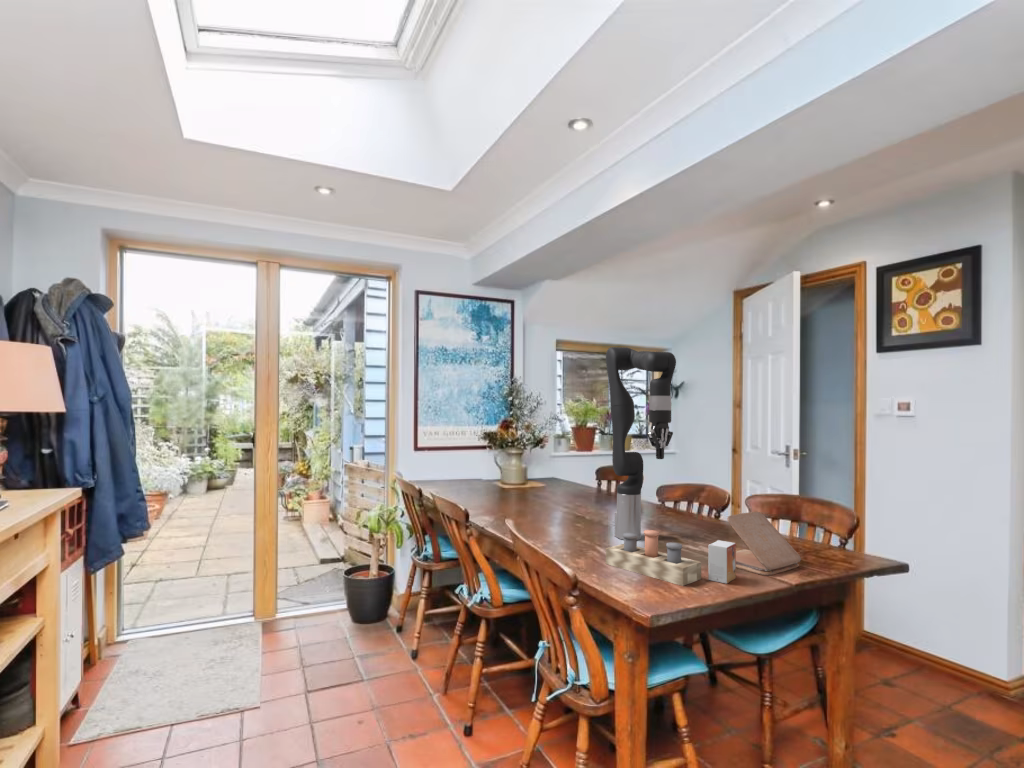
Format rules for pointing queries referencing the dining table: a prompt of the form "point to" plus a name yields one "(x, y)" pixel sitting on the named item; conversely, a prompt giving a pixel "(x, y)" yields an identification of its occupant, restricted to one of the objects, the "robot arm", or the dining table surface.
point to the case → (762, 545)
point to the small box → (722, 561)
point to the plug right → (674, 552)
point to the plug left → (630, 542)
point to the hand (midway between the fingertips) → (659, 458)
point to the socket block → (654, 565)
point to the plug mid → (651, 543)
